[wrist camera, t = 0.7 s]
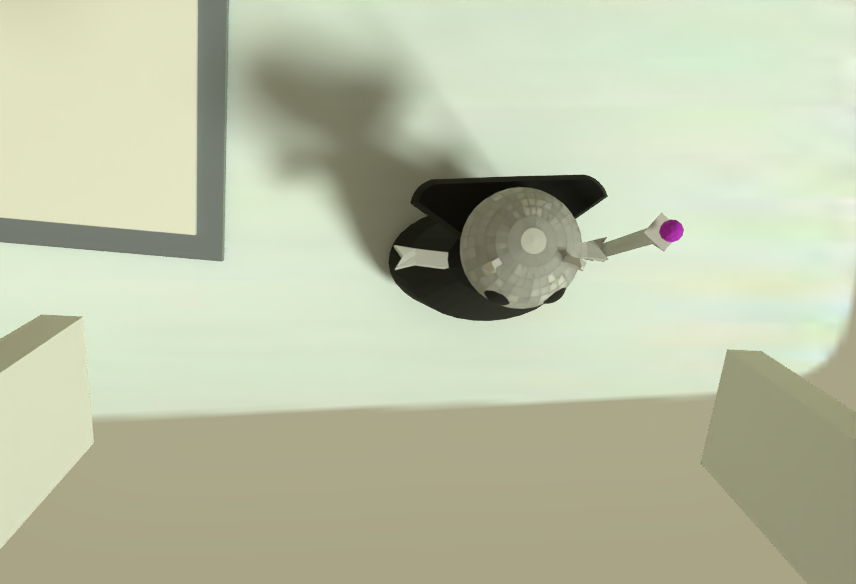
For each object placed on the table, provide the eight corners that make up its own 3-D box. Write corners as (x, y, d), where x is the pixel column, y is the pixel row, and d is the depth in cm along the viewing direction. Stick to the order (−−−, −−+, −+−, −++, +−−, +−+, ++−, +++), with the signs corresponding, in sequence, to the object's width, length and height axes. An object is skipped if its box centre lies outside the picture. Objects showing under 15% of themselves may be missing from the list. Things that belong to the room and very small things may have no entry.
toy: (391, 324, 37) (390, 330, 22) (386, 214, 37) (382, 145, 22) (579, 315, 38) (702, 315, 23) (573, 207, 38) (690, 137, 23)
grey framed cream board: (-82, -165, 30) (-93, -171, 29) (231, -119, 31) (227, -124, 30) (-43, 236, 35) (-51, 239, 34) (223, 259, 36) (220, 262, 36)
